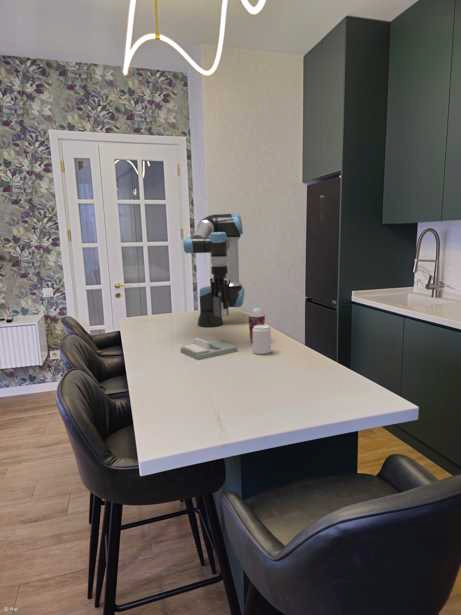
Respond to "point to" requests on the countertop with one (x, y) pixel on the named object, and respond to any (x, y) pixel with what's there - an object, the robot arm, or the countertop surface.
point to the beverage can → (261, 339)
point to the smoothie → (255, 319)
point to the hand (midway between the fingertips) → (220, 314)
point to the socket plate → (218, 350)
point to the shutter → (198, 346)
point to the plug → (218, 305)
